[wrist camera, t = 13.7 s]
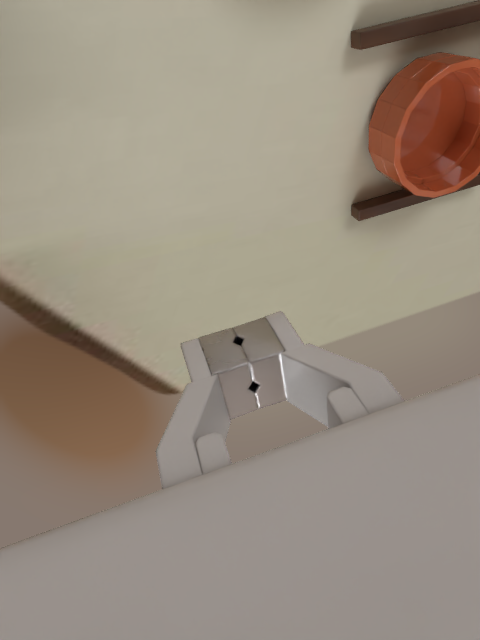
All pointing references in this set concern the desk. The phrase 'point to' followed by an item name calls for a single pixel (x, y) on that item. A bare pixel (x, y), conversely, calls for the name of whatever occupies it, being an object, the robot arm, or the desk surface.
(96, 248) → the desk surface
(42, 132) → the desk surface
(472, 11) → the frame
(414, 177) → the bowl
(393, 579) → the robot arm
